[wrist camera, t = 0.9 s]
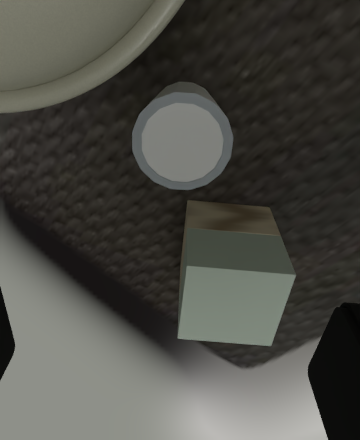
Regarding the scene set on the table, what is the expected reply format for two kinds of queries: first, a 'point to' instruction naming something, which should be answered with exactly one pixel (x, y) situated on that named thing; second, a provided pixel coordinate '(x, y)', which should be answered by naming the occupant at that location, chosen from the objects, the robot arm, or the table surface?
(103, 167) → the table surface
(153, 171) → the shot glass
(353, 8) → the table surface
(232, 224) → the tower base
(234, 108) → the table surface
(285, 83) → the table surface
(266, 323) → the tower top
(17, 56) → the canister
